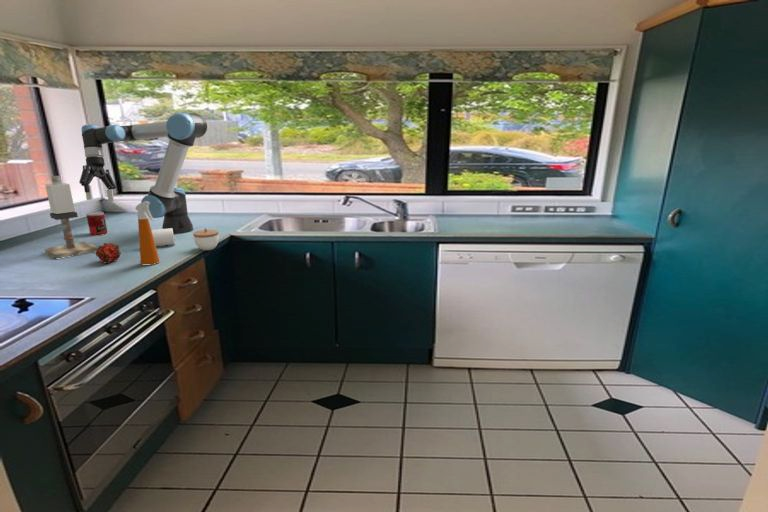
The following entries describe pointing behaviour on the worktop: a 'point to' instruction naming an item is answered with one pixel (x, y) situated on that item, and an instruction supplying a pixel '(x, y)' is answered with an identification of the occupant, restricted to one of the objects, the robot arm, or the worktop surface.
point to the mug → (163, 237)
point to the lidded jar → (206, 239)
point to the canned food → (97, 223)
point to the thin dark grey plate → (63, 215)
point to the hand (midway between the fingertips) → (101, 201)
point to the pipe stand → (68, 238)
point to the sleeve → (60, 198)
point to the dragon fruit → (108, 252)
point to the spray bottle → (146, 235)
